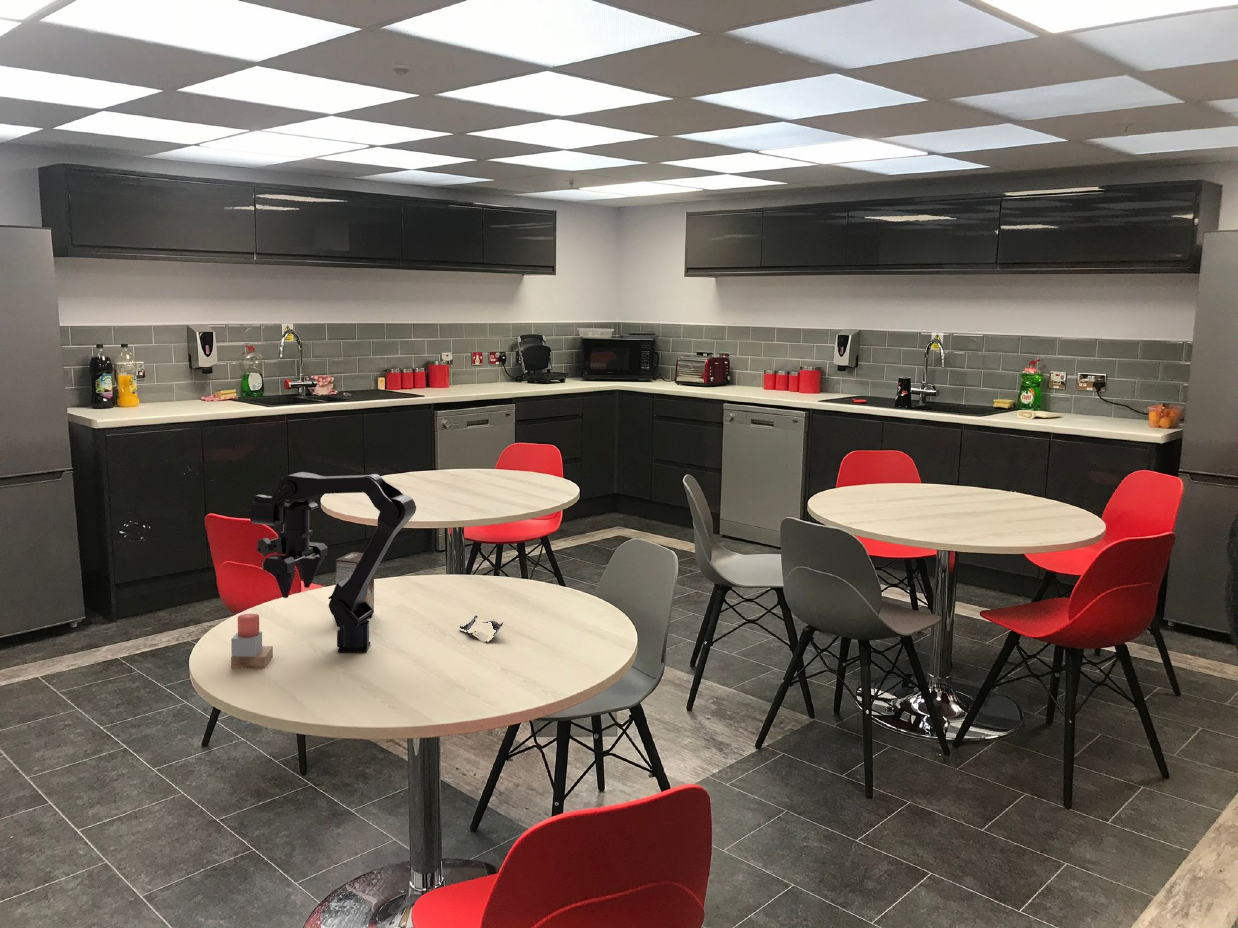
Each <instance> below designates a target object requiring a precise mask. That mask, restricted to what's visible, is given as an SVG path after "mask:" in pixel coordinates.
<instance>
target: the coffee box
mask: <svg viewBox="0 0 1238 928" xmlns="http://www.w3.org/2000/svg"><path fill="white" fill-rule="evenodd" d="M363 553H364V552H354V551H352V552H350V553H347V554H345V555H343V556H340V557H338V558H336V559H335V585H336V584H338V583H339V582H341V581H343V580H345V579H347V578H349V579H350V577H351V575H352V573H353V572H354V570H355V568H356V566H357V564H358V562H359V561H360V559H361V557H362V555H363ZM365 601H366V602H367V603H368V604H369V605H370V606H371V608H372V609H373V610H374V611H375V574H374V575H373V576H372V578H371V580H370V582H369V584H368V593H367V597H366V600H365Z"/></svg>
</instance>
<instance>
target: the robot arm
mask: <svg viewBox="0 0 1238 928" xmlns="http://www.w3.org/2000/svg"><path fill="white" fill-rule="evenodd" d="M359 493H363V494H365V495H366V496H367V497H368V498H369V500H370V502H371V503H372V505H373V506H374V508H376V509H377V511H379V514H378V517H377V522H376V525H377V526H376V529H375V532H374V534H373V535H372V537H371V539H370V541H369V543H368V545H367V546H366V547H365V549H364V552H362V553H363V555H362V557H361V559H360V561H359V562H358V564H357V566H356V568H355V570H354V572H353V573H352V575H351V577H350V579H349V578H347V579H345V580H343V581H341V582H339V583H338V584H336V583H335V587H334V589H333V592H332V593H331V595H330V596H328V597H327V598H328V600H329V603H328V608H329V611H330V613H331V615H332V616H333V619H334V621H335V625H336V627H337V630H336V636H337V637H336V647H337V648H338V649H337V652H338V653H367V652H368V651H369V648H370V646H371V643H372V642H371V641H370V620H371V619H372V618H373V615H374V613H375V609H374V610H373V609H372V608H371V606H370V605H369V604H368V603H367V602H366V601H365V600H366V597H367V593H368V584H369V582H370V580H371V578H372V576H373V575H374V576H375V572H376V571H377V570H378V567H379V565H380V563H381V562H382V560H383V558H384V556H385V554H386V553H387V551H388V549H389V547H390V546H391V544H392V543H393V540H394V538H395V537H396V535H397V534H398V533H399V532H400V530H402V529H403V528H404V527H405V526H406V525H407V524H408V522H409V521H410V520H411V519H412V517H414V516H415V514H416V511H417V505H416V502H415V501H414V499H413V498H412V497H411V496H409V495H408V494H405V493H404V492H402V491H401V490H400V489H399V488H397V487H396V486H394V485H393V484H391V483H389V482H387V481H386V479H384V478H383V477H382V476H380V475H379V474H378V473H372V474H364V475H363V474H362V475H360V474H359V475H355V474H354V475H334V476H333V475H330V476H327V475H320V474H316V473H313V472H312V473H311V472H307V471H305V472H304V471H300V472H296V473H292V474H289V475H284V476H283V477H282V478H281V479H280V481H279V485H278V489H276V490H275V492H274V493H273V495H272V496H271V495H265V494H257V495H254V497H253V498H254V501H253V502H252V503H251V505H250V508H249V509H250V510H249V511H248V517H249V520H250V522H251V523H252V524H254V525H266V526H275V527H276V526H279V525H280V524H281V523H282V531H280V532H279V533H278V535H277V537H276V538H272V539H269V538H268V537H265V538H260V539H259V540H257V543H256V551H257V552H258V553H259V554H261V555H262V557H263V558H264V557H266V558H265V559H263V561H261V562H262V566H261V567H262V571H265V572H266V573H268V574H271V575H272V576H273V577H274V579H275V580H276V583H277V585H278V588H279V591H280V594H281V596H282V598H284V599H288V598H289V596H290V592H291V589H292V585H293V583H294V579H295V575H296V571H297V570H296V569H295V567H296V562H297V561H298V562H299V563H300V564H301V569H302V571H301V572H302V581H303V586H304V588H306V589H309V588H310V586H311V584H312V583H313V581H314V578H315V576H316V575H317V572H318V570H319V569H320V566H321V564H323V561H324V560H325V557H327V556H328V554H329V552H328V551H329V550H328V549H329V547H328V546H327V545H326V543H322V542H314V541H313V542H312V541H310V536H311V537H312V536H313V535H314V530H312V529H310V511H313V510H315V509H318V508H319V504H318V503H317V502H315V501H314V500H313V499H312V496H316V495H326V494H328V495H330V494H359ZM308 497H310V498H308ZM305 498H307V499H305ZM299 499H305V500H299ZM287 501H291V503H287ZM275 553H276V554H275ZM271 554H273V555H271ZM268 555H271V556H268ZM267 556H268V557H267Z"/></svg>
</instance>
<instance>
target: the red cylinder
mask: <svg viewBox="0 0 1238 928" xmlns="http://www.w3.org/2000/svg"><path fill="white" fill-rule="evenodd" d="M237 632H238V636H239V637H254V636H257V635H259V632H260V615H259V614H258V613H243V614H240V615H238V616H237Z"/></svg>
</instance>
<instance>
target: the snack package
mask: <svg viewBox="0 0 1238 928" xmlns="http://www.w3.org/2000/svg"><path fill="white" fill-rule="evenodd" d="M478 617H479V616H478V615H474V616H473V618H472V620H471V621H469V622H468V623H466V624H465V625H459V628H461V629H464V630H466V631H467V630H469V629H470V628H471V626H474V624H475V623H476V621H477V619H478ZM488 622H491V623H492V626H493V629H494V630H496V632H495V633H494V635H493V636H494V638H495V636H496V635H498V633H499V631H500V629H501V628H502V627H503V624H504V621H501V623H499V622H497V621H495V619H493V620H490V621H484V622H483V621H482V623H488ZM463 626H464V627H463ZM467 632H468V631H467ZM468 634H469V635H471V634H470V633H468Z"/></svg>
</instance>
